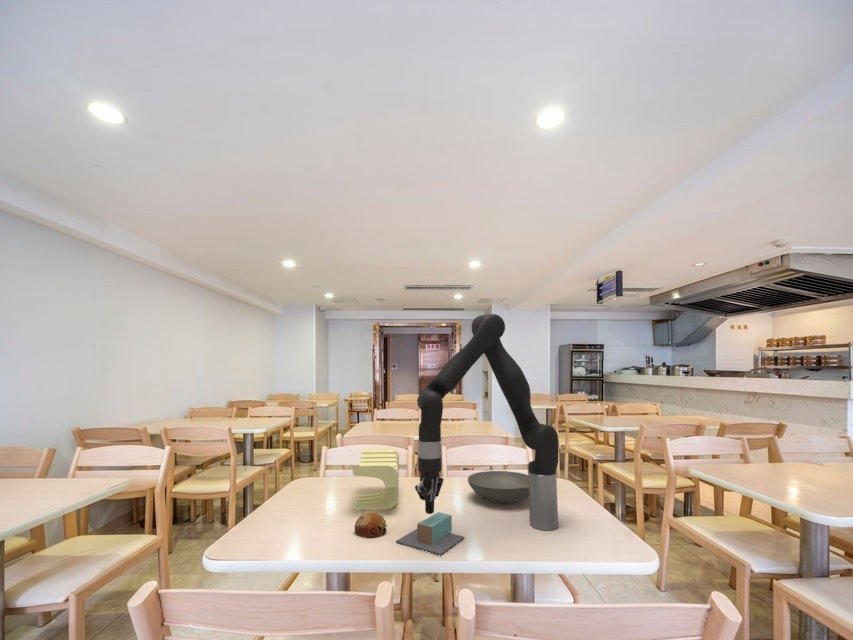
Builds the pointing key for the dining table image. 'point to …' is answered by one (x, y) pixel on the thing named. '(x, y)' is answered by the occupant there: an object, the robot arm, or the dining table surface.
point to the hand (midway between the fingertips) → (429, 512)
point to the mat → (435, 548)
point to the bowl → (500, 486)
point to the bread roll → (370, 525)
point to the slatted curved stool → (381, 467)
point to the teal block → (434, 528)
